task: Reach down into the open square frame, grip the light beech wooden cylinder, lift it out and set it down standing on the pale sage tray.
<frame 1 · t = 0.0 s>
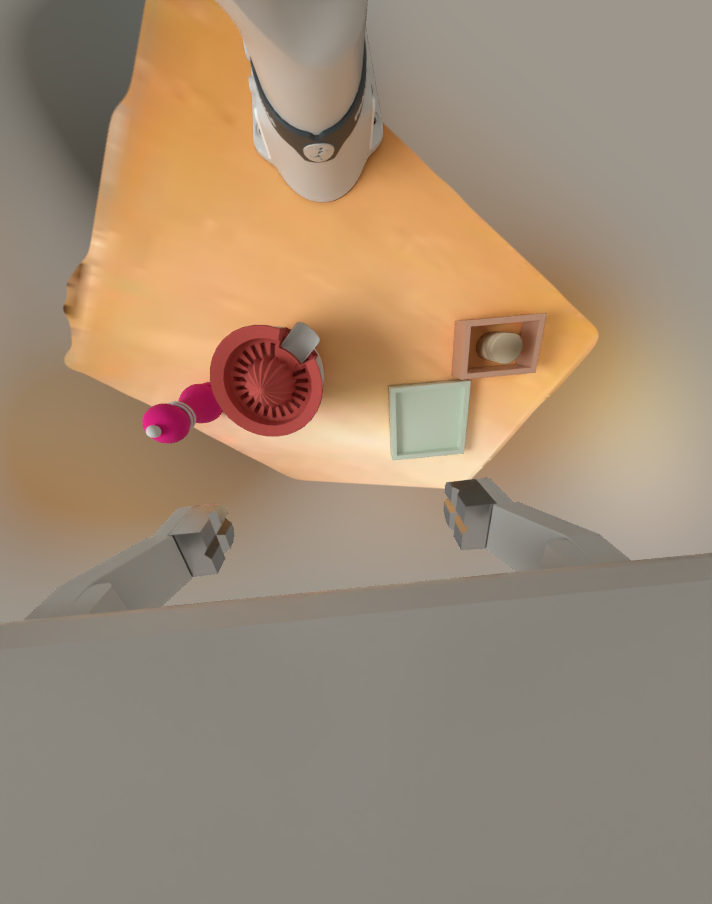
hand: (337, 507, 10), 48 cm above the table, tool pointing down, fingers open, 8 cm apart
tray: (426, 419, 60), on the table
open square frame: (488, 345, 54), on the table
pepper mill: (212, 397, 56), on the table
citrus juicer: (291, 364, 54), on the table
beech cylinder: (497, 347, 51), in the open square frame
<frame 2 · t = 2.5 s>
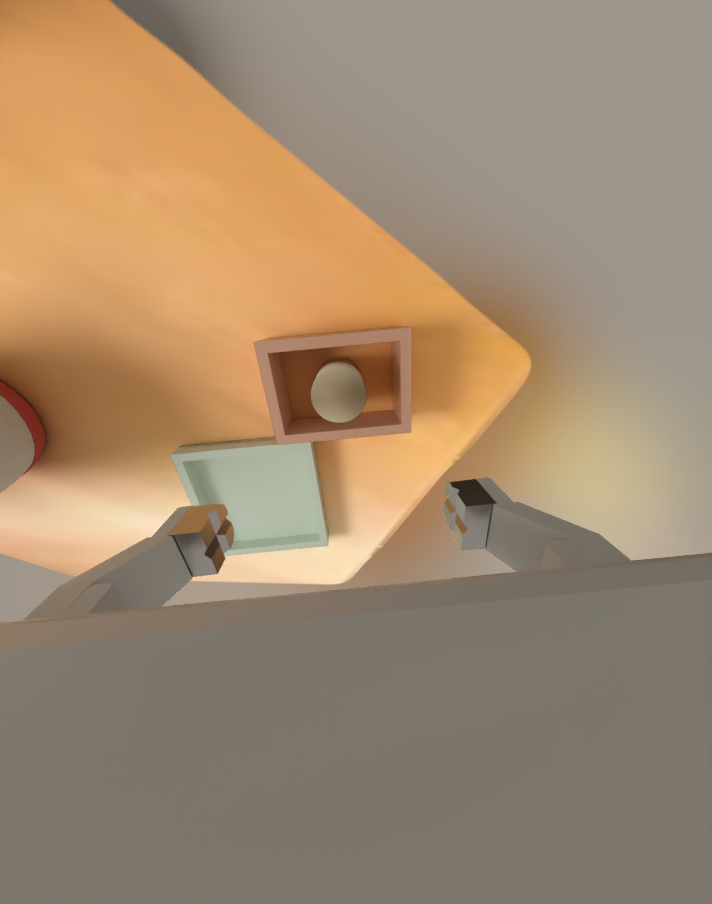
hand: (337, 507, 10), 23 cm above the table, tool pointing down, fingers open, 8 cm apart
tray: (262, 494, 37), on the table
open square frame: (339, 380, 31), on the table
beech cylinder: (339, 387, 28), in the open square frame
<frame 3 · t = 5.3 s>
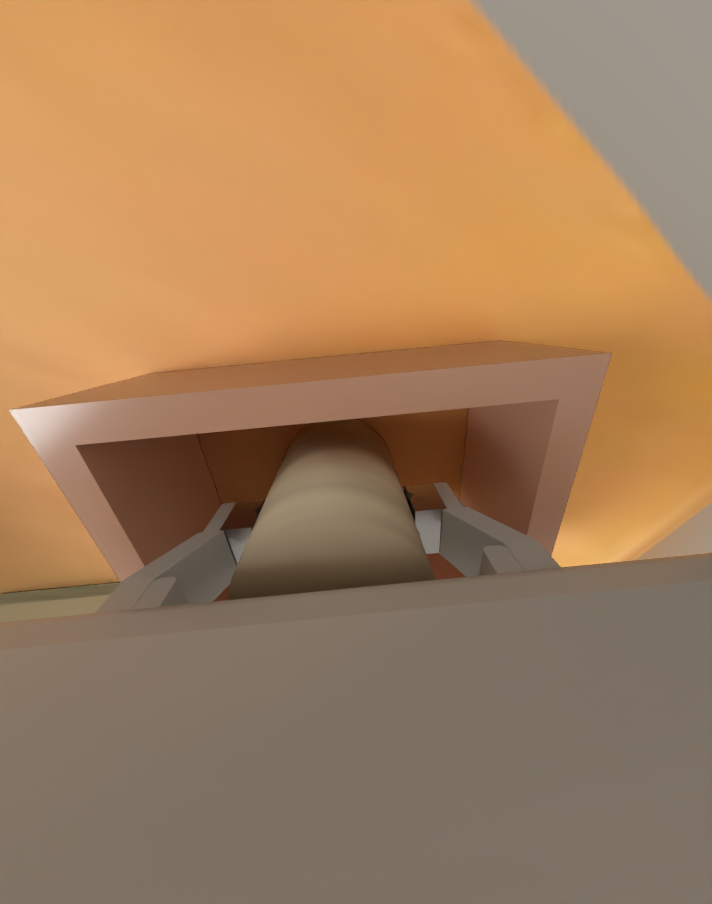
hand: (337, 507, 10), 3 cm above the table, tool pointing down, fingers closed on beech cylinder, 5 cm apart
tray: (188, 661, 19), on the table
open square frame: (338, 467, 13), on the table
beech cylinder: (337, 513, 10), in the open square frame, touching gripper
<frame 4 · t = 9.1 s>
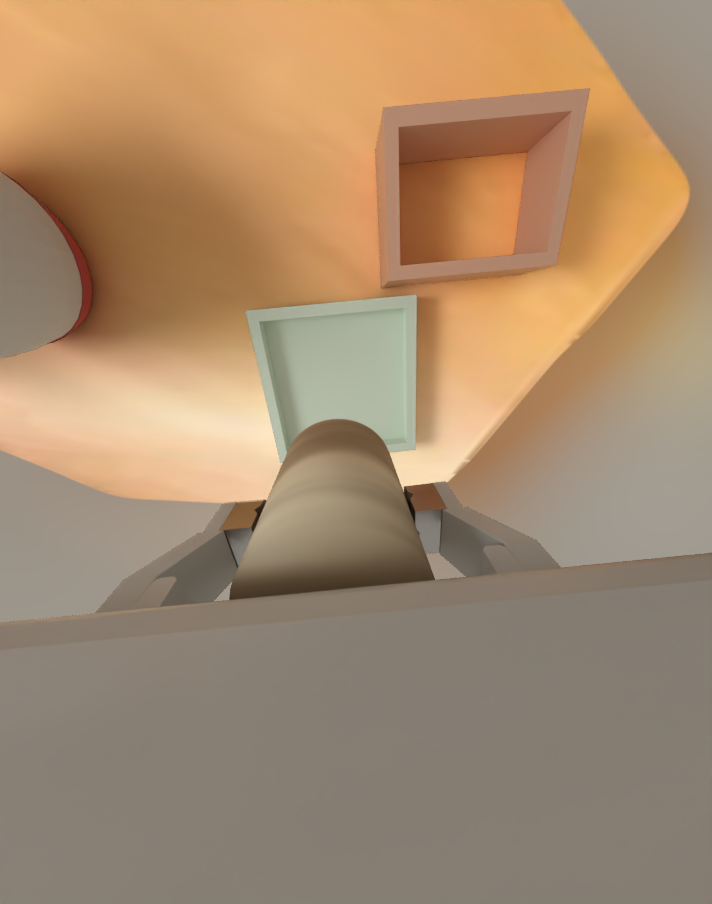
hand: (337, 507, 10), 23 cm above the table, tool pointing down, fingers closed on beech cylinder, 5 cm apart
tray: (340, 384, 31), on the table
open square frame: (454, 217, 25), on the table
citrus juicer: (31, 258, 25), on the table
beech cylinder: (337, 515, 10), point 23 cm above the table, touching gripper
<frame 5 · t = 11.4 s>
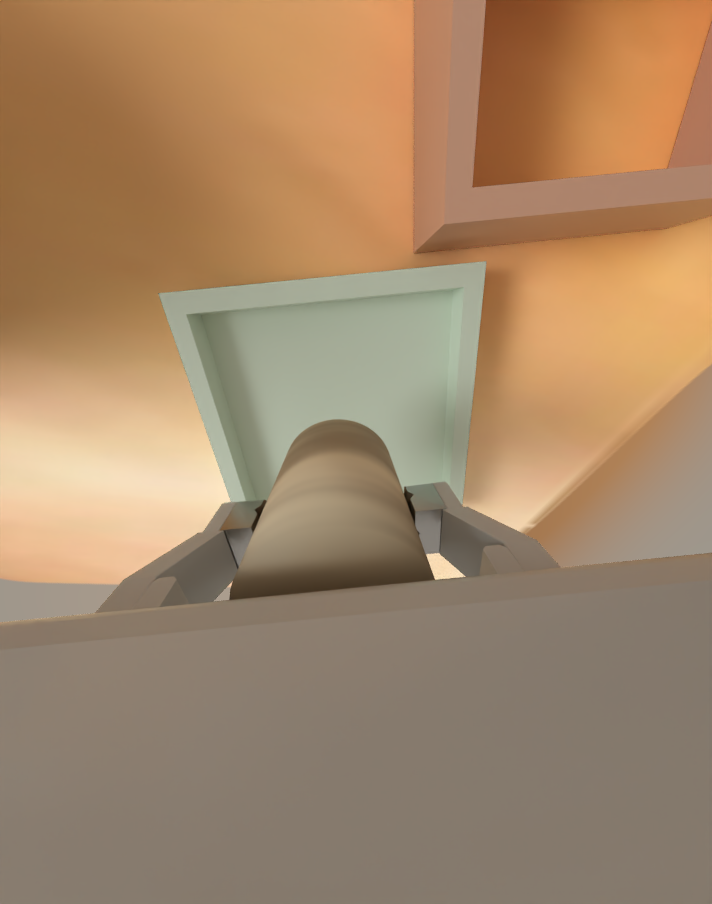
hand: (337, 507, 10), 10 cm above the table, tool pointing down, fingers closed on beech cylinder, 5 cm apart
tray: (341, 418, 19), on the table
open square frame: (562, 109, 13), on the table
beech cylinder: (337, 516, 10), point 10 cm above the table, touching gripper
when the fingers open (5 cm above the table, at t = 13.2 s): beech cylinder drops 1 cm, resting on tray.
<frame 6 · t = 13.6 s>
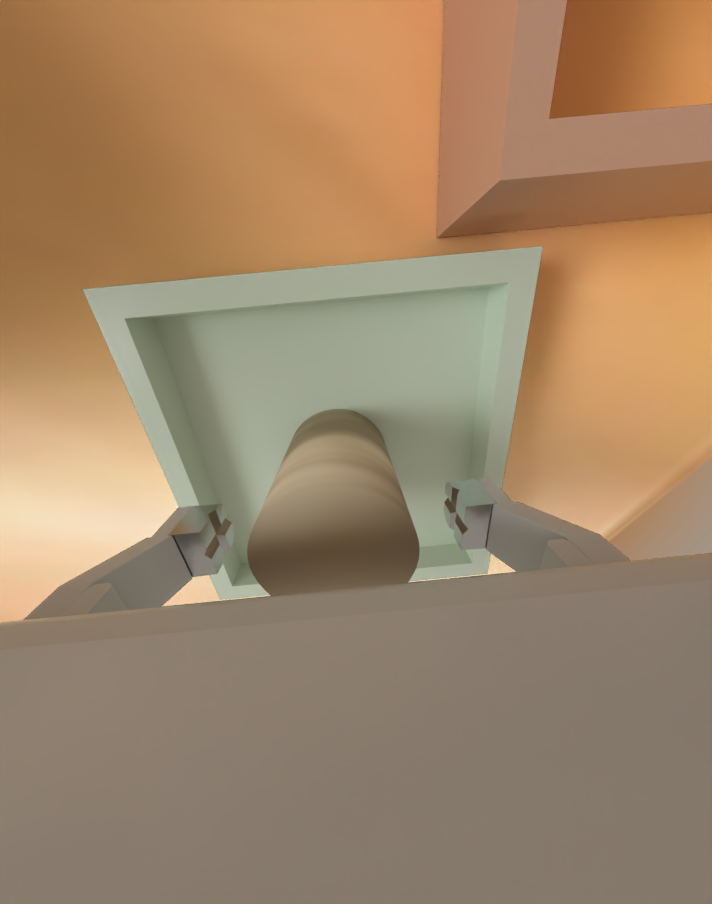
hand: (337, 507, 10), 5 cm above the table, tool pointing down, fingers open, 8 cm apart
tray: (339, 448, 15), on the table
open square frame: (651, 33, 9), on the table
beech cylinder: (337, 492, 11), in the tray, point 4 cm above the table
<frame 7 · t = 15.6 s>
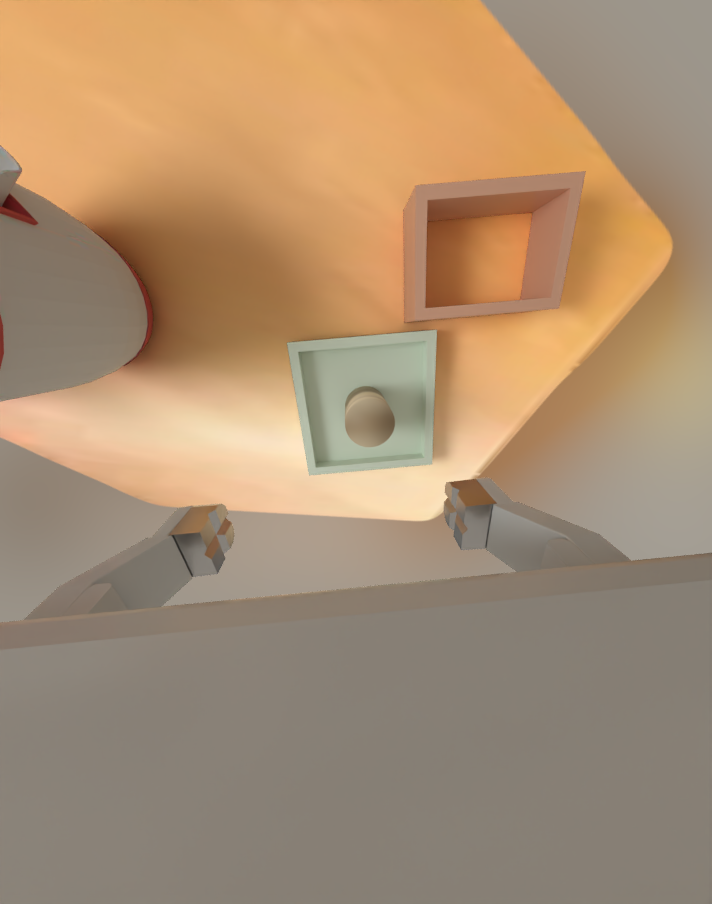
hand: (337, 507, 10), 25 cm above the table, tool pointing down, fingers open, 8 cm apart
tray: (365, 404, 34), on the table
open square frame: (469, 264, 29), on the table
citrus juicer: (102, 296, 29), on the table
beech cylinder: (367, 414, 31), in the tray, point 4 cm above the table
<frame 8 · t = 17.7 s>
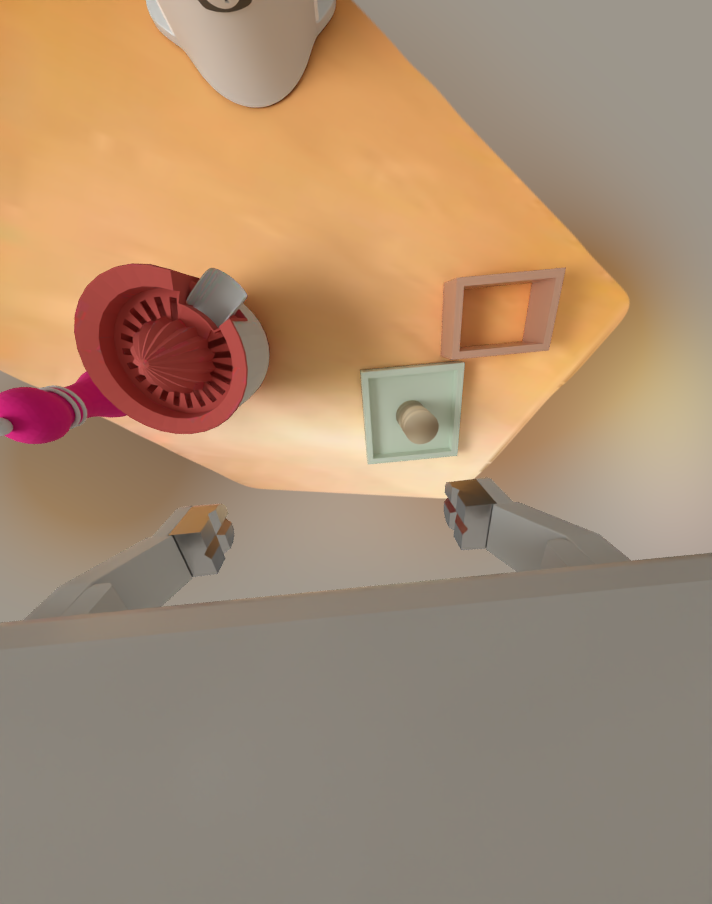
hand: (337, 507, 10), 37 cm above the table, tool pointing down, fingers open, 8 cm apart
tray: (409, 412, 48), on the table
open square frame: (487, 316, 42), on the table
pepper mill: (135, 385, 44), on the table
citrus juicer: (232, 341, 42), on the table
beech cylinder: (415, 421, 44), in the tray, point 4 cm above the table
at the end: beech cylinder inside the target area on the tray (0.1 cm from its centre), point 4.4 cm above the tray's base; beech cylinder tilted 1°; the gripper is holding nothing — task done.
